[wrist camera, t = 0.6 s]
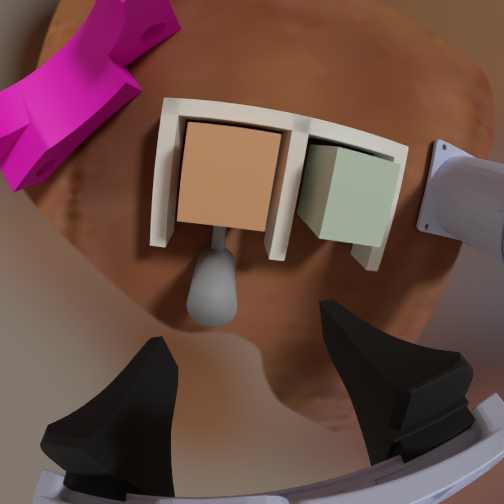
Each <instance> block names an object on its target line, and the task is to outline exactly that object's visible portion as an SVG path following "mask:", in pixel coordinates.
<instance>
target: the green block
mask: <svg viewBox="0 0 504 504" xmlns="http://www.w3.org/2000/svg"><path fill="white" fill-rule="evenodd" d="M399 170H400V164H397V163H394V162H391V161H387V160H384V159H381V158H378V157H374V156H371V155H367V154H364V153H360V152H356V151H353V150H349V149H345V148H341V147H335V146H324V145H309V151H308V156H307V162H306V167H305V173H304V178H303V183H302V189H301V194H300V199H299V204H298V209H297V214H298V215H299V216H300V218H301V219H302V220H303V221H304V222H305V223H306V224H307V225H308V227H309V228H310V229H311V230H312V231H313V232H314V233H315V235H316V236H317V237H318V238H319V239H326V240H333V241H340V242H347V243H354V244H361V245H368V246H374V247H381V243H382V240H383V236H384V233H385V229H386V225H387V222H388V218H389V214H390V210H391V206H392V202H393V198H394V193H395V189H396V184H397V180H398V175H399Z"/></svg>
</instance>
